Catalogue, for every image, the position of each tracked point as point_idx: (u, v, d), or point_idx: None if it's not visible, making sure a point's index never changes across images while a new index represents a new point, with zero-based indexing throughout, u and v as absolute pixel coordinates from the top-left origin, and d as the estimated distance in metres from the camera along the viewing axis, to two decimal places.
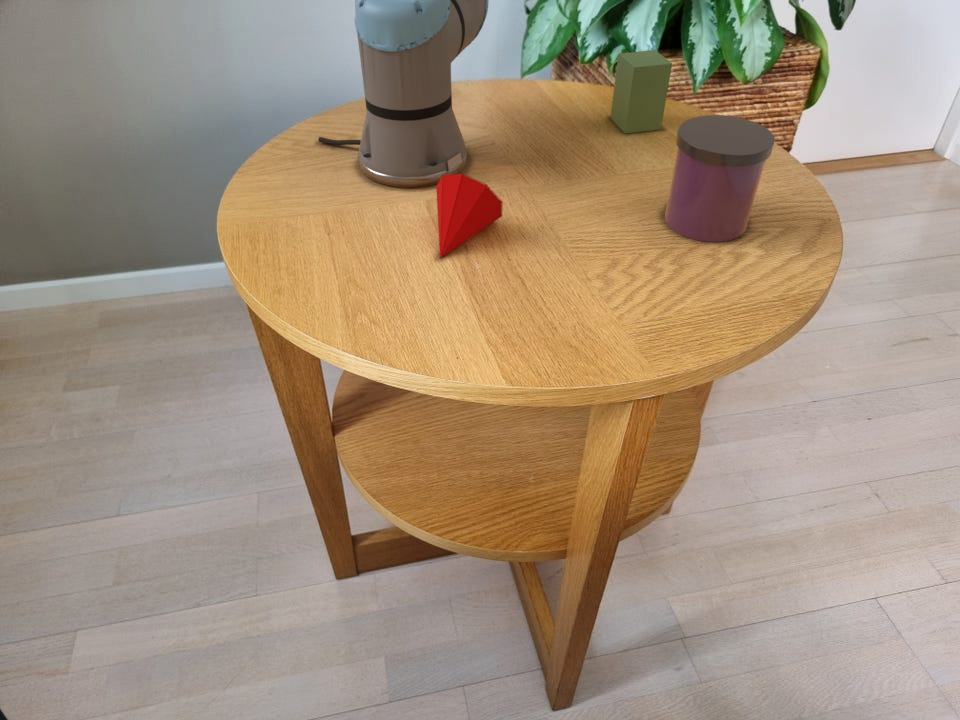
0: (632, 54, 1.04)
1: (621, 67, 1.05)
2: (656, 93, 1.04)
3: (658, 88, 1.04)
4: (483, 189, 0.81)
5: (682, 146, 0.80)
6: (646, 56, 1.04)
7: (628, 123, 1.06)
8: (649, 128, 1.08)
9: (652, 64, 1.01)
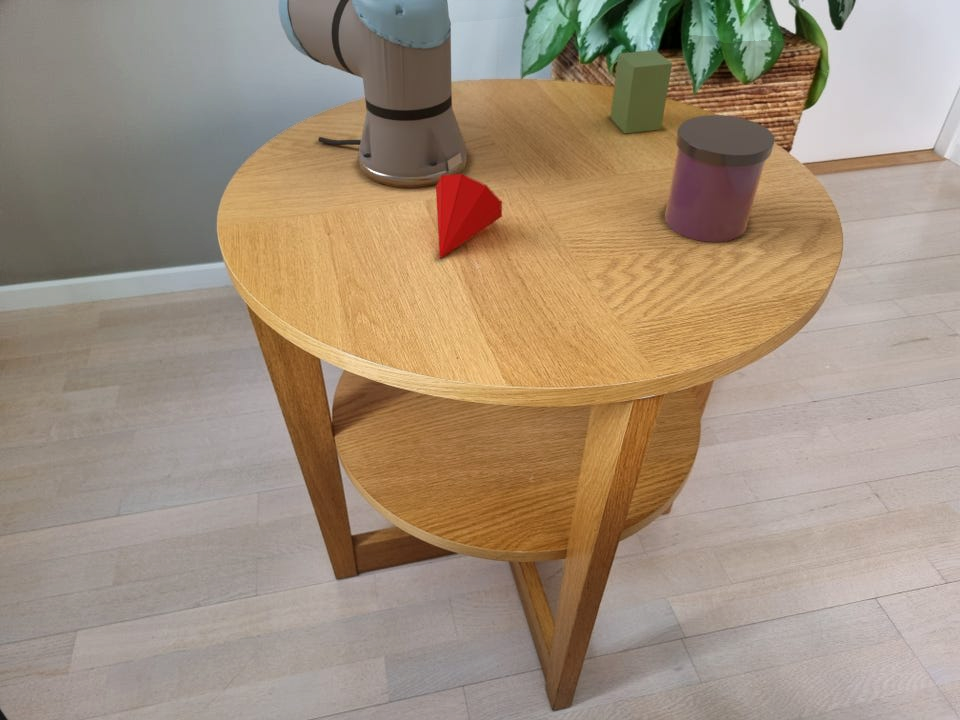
0: (632, 54, 1.04)
1: (621, 67, 1.05)
2: (656, 93, 1.04)
3: (658, 88, 1.04)
4: (483, 189, 0.81)
5: (682, 146, 0.80)
6: (646, 56, 1.04)
7: (628, 123, 1.06)
8: (649, 128, 1.08)
9: (652, 64, 1.01)
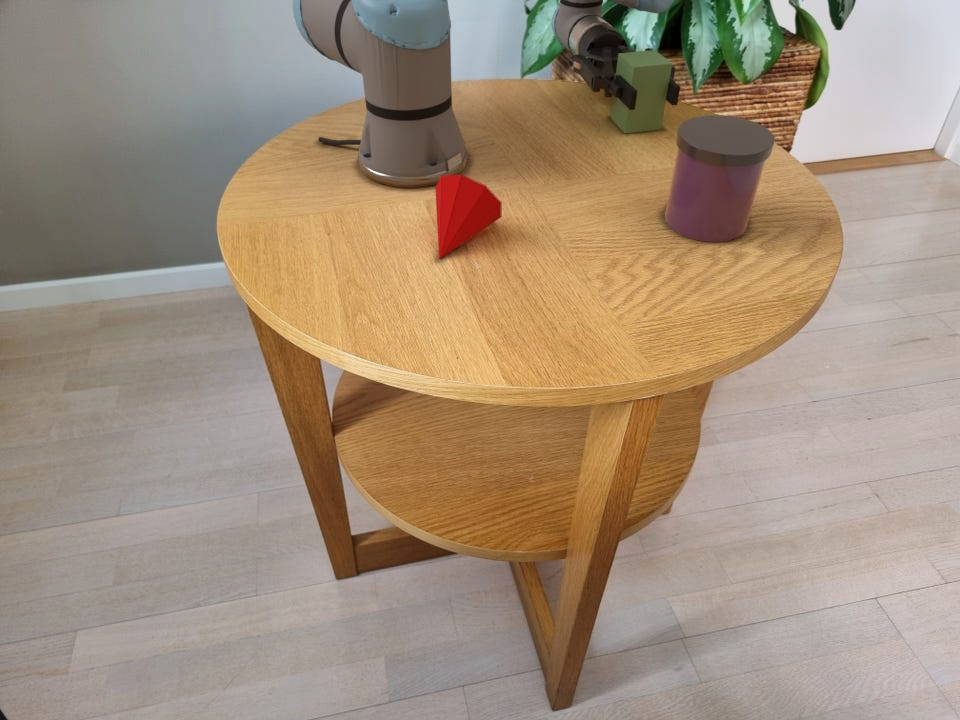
0: (632, 54, 1.04)
1: (621, 67, 1.05)
2: (656, 93, 1.04)
3: (658, 88, 1.04)
4: (482, 190, 0.81)
5: (682, 146, 0.80)
6: (646, 56, 1.04)
7: (628, 123, 1.06)
8: (649, 128, 1.08)
9: (652, 64, 1.01)
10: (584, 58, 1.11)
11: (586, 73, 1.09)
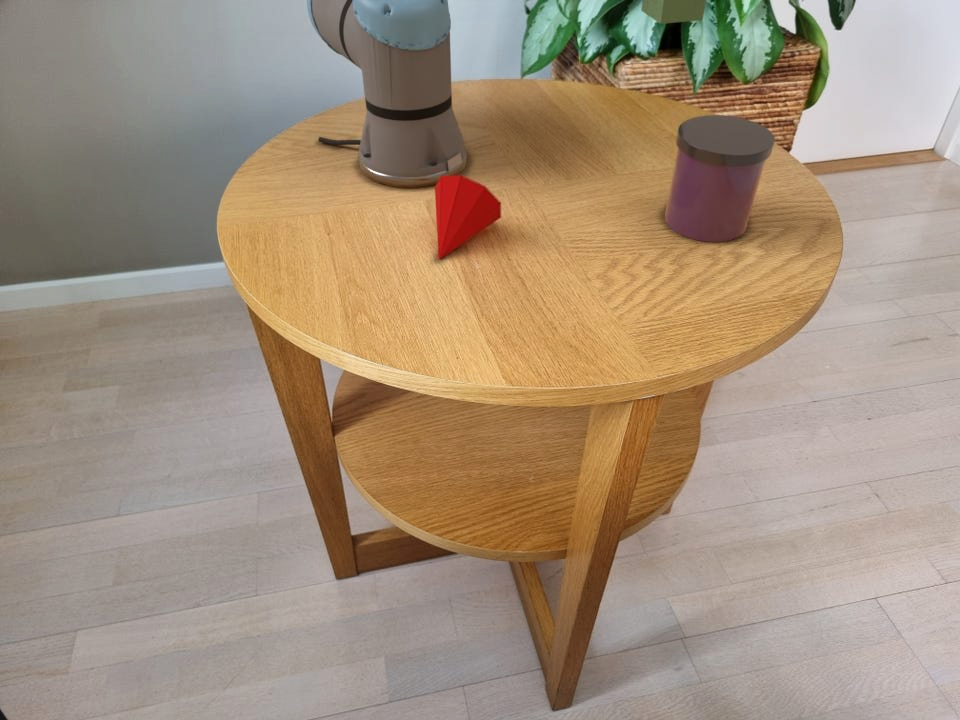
0: None
1: None
2: None
3: None
4: (482, 190, 0.81)
5: (682, 146, 0.80)
6: None
7: (665, 9, 0.89)
8: (689, 18, 0.90)
9: None
10: None
11: None
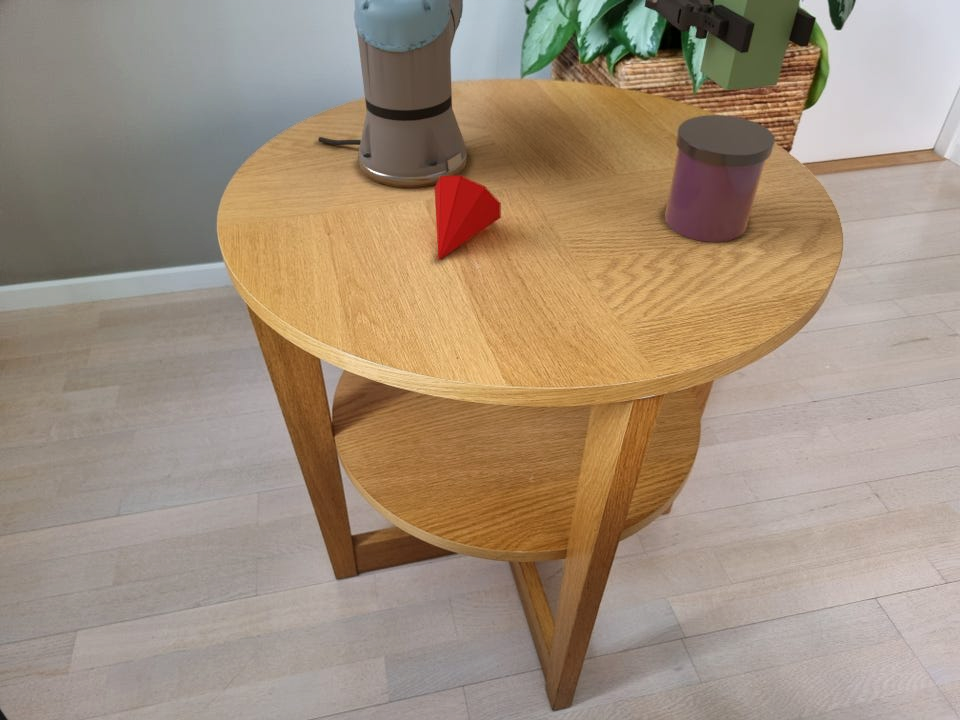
0: None
1: None
2: (777, 30, 0.71)
3: (780, 22, 0.71)
4: (481, 191, 0.81)
5: (682, 146, 0.80)
6: None
7: (733, 74, 0.73)
8: (761, 83, 0.75)
9: None
10: None
11: (667, 6, 0.76)
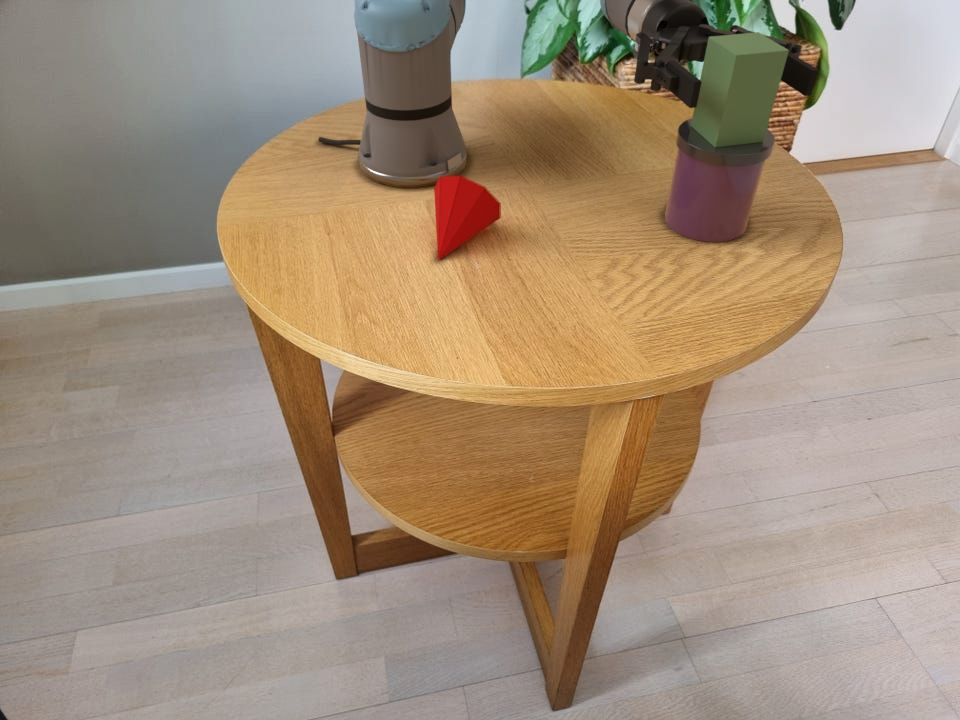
0: (728, 37, 0.75)
1: (712, 56, 0.75)
2: (763, 92, 0.75)
3: (766, 85, 0.74)
4: (481, 191, 0.81)
5: (682, 146, 0.80)
6: (749, 40, 0.74)
7: (721, 133, 0.77)
8: (748, 140, 0.78)
9: (761, 51, 0.72)
10: (646, 38, 0.82)
11: None
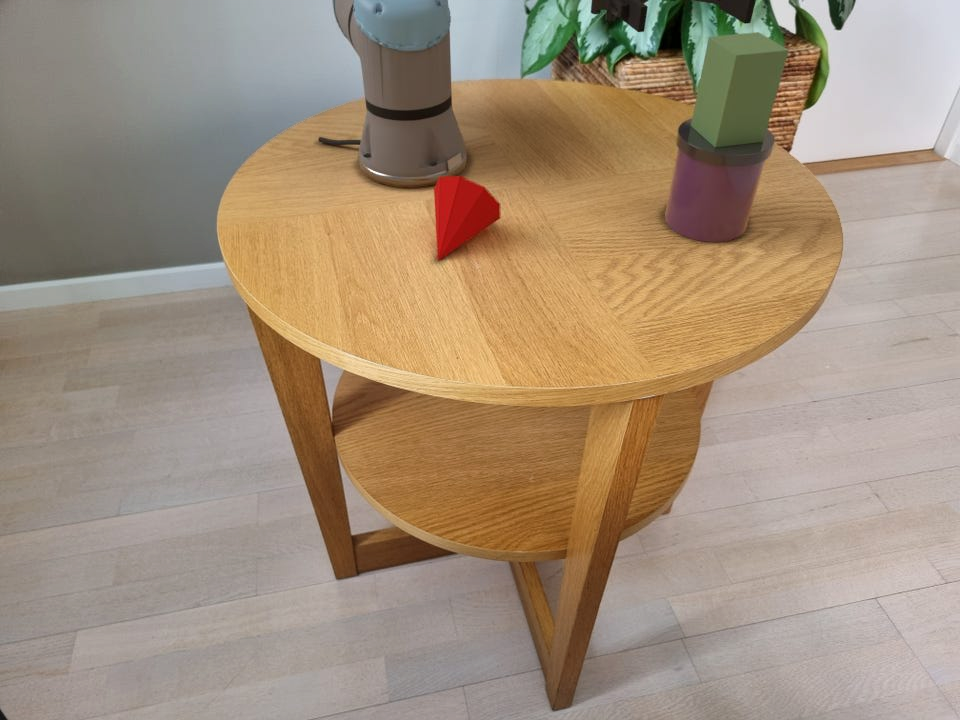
0: (728, 37, 0.75)
1: (712, 56, 0.75)
2: (763, 92, 0.75)
3: (766, 85, 0.74)
4: (481, 191, 0.81)
5: (682, 146, 0.80)
6: (749, 40, 0.74)
7: (721, 133, 0.77)
8: (748, 140, 0.78)
9: (761, 51, 0.72)
10: None
11: None
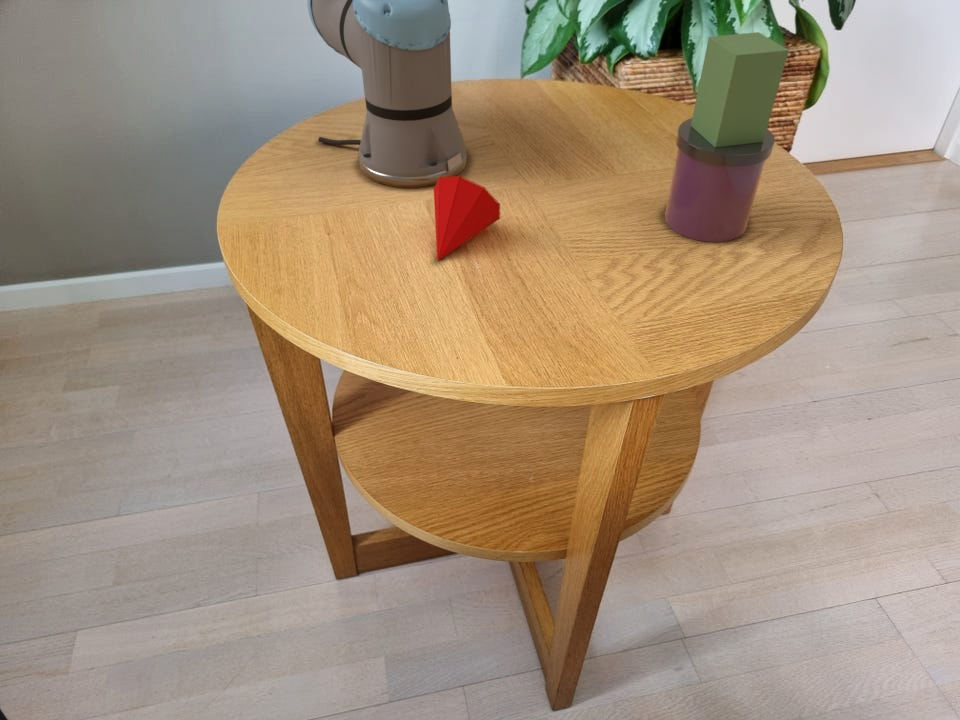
0: (728, 37, 0.75)
1: (712, 56, 0.75)
2: (763, 92, 0.75)
3: (766, 85, 0.74)
4: (480, 191, 0.81)
5: (682, 146, 0.80)
6: (749, 40, 0.74)
7: (721, 133, 0.77)
8: (748, 140, 0.78)
9: (761, 51, 0.72)
10: None
11: None
